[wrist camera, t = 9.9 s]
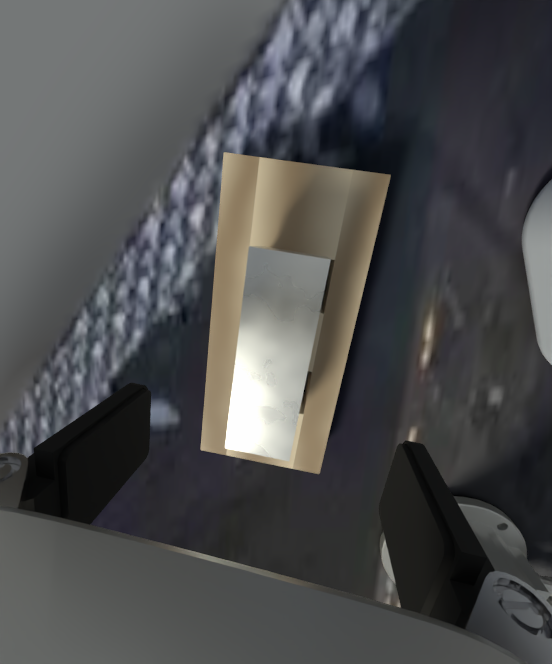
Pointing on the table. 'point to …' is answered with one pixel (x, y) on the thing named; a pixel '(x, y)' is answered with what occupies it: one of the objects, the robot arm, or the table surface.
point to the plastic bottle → (540, 266)
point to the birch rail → (299, 236)
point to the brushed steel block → (274, 348)
